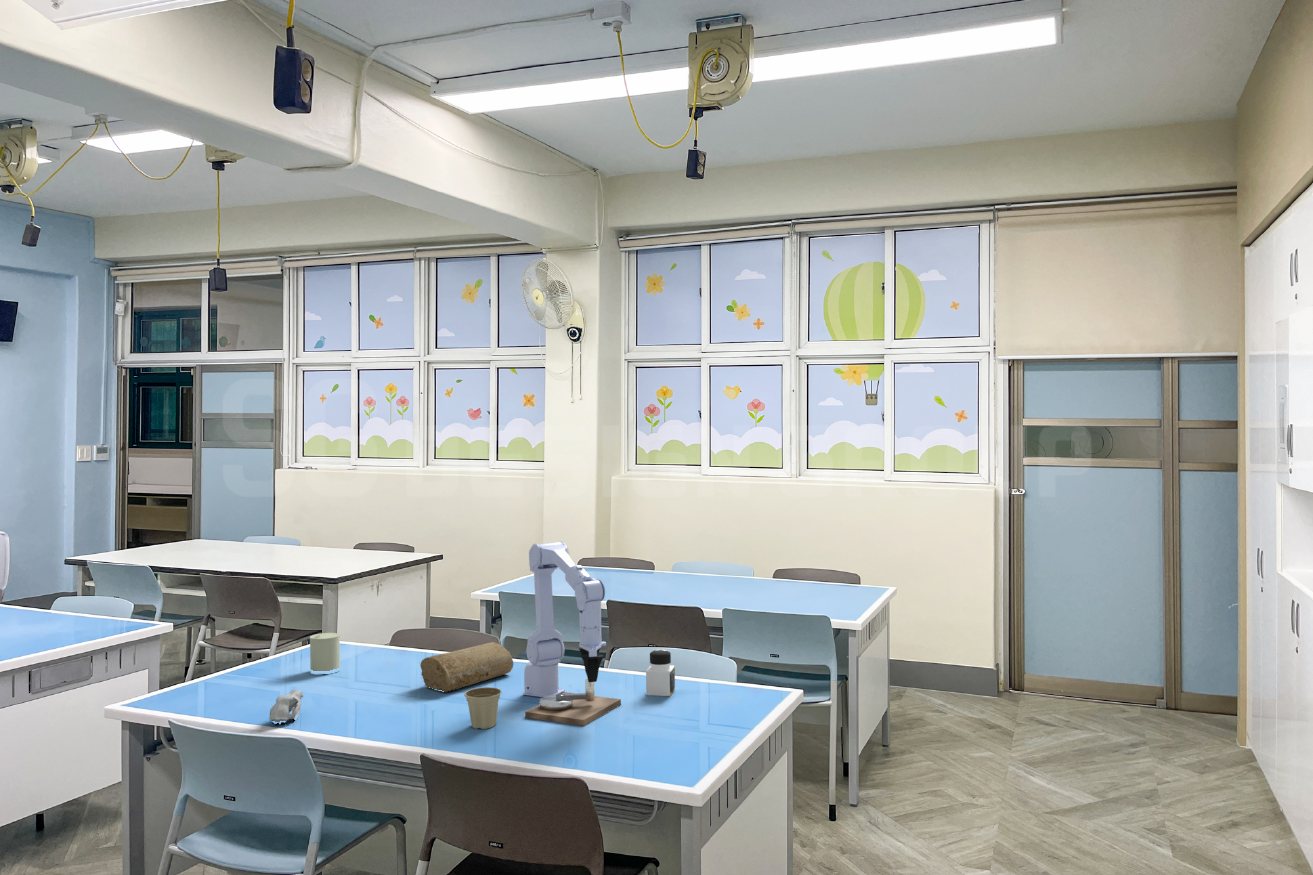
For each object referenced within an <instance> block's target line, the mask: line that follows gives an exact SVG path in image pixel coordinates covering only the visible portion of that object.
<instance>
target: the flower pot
mask: <svg viewBox="0 0 1313 875" xmlns="http://www.w3.org/2000/svg"><path fill="white" fill-rule="evenodd" d="M463 694H464V697H465V699H466V702H467V706H468V711H469V718H470V724H471V728H473V729H477V730H478V729H482V730H487V729H491V728H493V727H495V725H497V718H498V708H499V700H500V698H501V695H502V689H501V688H497V687H475V688H471V689H469V690H468V689H467V691H465V692H464V693H463Z"/></svg>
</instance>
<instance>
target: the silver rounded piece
mask: <svg viewBox="0 0 1313 875" xmlns="http://www.w3.org/2000/svg"><path fill="white" fill-rule="evenodd" d="M584 682H585V686H584V687H585V692H583V693H582V692H581V693H576V694H562V693H560V694H556V695H550V696H546V697H540V699H539V705H540V707H541V708H543V709H546V710H562V709H567V708H570V707H572V706H573V700H581V699H586V701H594V700H595V696H596V695H595V682H588V678H586V679H585V681H584Z"/></svg>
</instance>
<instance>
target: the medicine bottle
mask: <svg viewBox="0 0 1313 875" xmlns="http://www.w3.org/2000/svg"><path fill="white" fill-rule="evenodd" d="M671 655H672V653H671V652H670V651H669V650H666V649H655V650H652V651H650V653H649V667H648V668H647V669H646V670H645V687H646V688H645V690H646V692H645V693H646V696H654V697H656V696H657V697H671V696H672V695H673V693H674V691H675V690H676V678H675V676H676V673H675V671H676V669H675V668H676V667H675V665H672V660H671V659H672V657H671Z"/></svg>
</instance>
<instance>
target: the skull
mask: <svg viewBox="0 0 1313 875" xmlns="http://www.w3.org/2000/svg"><path fill="white" fill-rule="evenodd" d="M302 698H304V694H303V691H301V690H299V689H295V690H294V689H292V690H291V691H290V692H289V693H288V694H286V695H278V696H277V697H276V699H275V704H274V705H272V707H271V708H270V709H269V716H268V718H269V719H268V720H270V722H271V721H275V722H280V721H287V720H288V721H289V720H293V719H294V718H295V717H297V716H298V715H299V716H300V714H301V706H302V703H301V701H302ZM290 712H291V714H290ZM299 713H300V714H299ZM288 721H287V722H288Z"/></svg>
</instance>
